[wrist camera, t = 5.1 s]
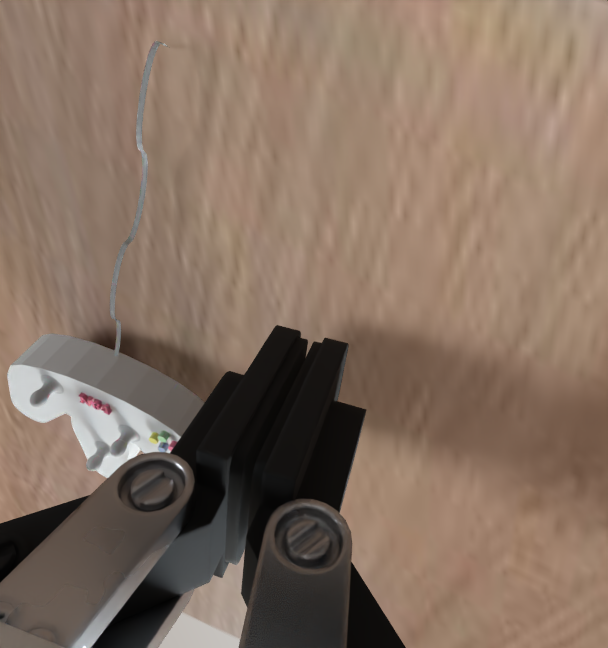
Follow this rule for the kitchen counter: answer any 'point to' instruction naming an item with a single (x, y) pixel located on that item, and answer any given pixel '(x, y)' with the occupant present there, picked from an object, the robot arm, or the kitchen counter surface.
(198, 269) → the kitchen counter surface
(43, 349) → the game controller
